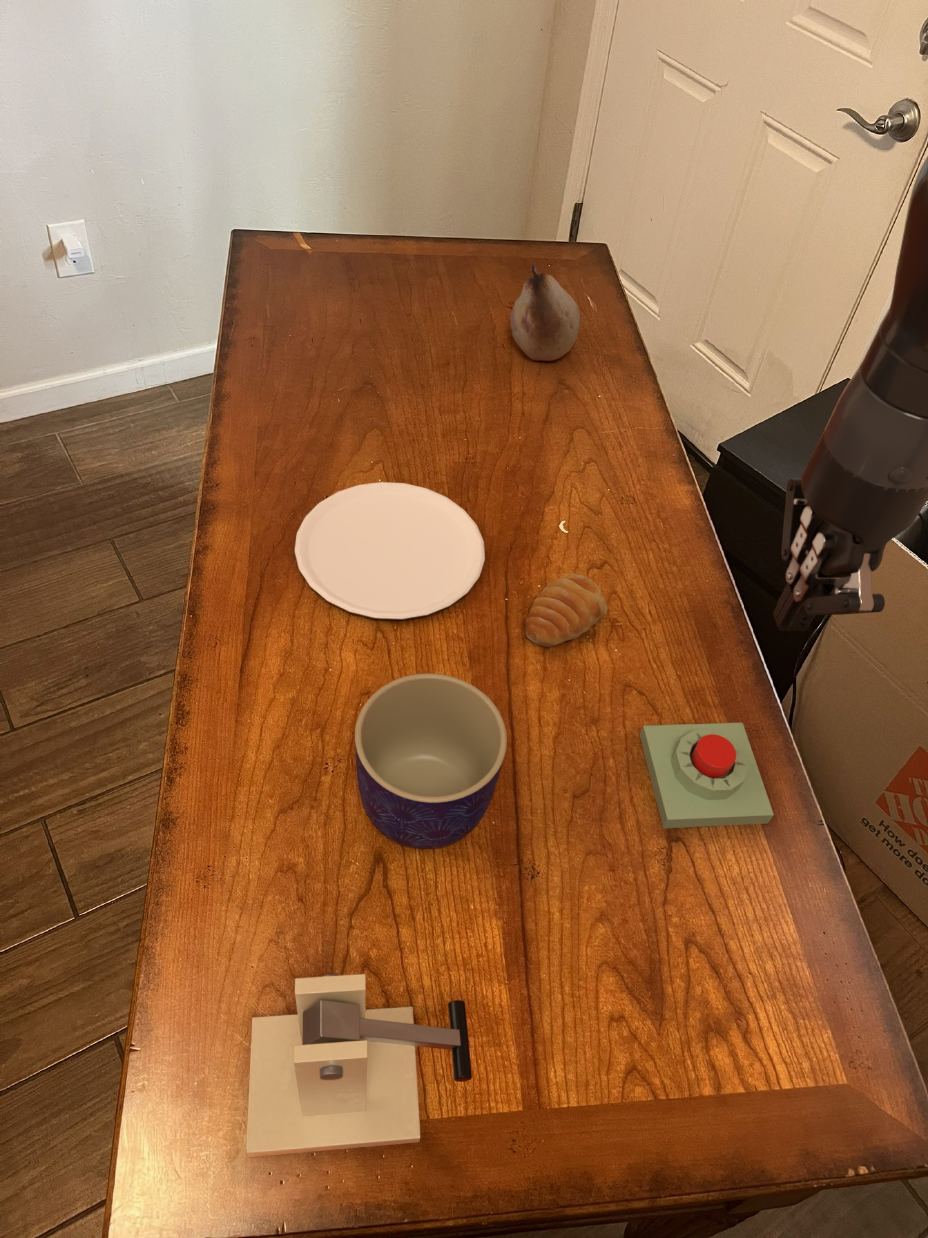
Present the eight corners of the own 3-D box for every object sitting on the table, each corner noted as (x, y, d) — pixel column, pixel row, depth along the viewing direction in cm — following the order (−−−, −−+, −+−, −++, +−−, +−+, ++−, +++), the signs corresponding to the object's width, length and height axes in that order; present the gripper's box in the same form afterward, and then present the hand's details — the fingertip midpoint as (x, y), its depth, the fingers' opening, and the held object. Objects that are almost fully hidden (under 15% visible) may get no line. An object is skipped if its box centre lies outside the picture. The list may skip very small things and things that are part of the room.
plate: (254, 559, 101) (253, 551, 100) (377, 464, 113) (377, 456, 112) (406, 658, 95) (406, 650, 94) (520, 545, 106) (521, 538, 105)
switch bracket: (412, 1012, 73) (422, 939, 61) (419, 1142, 67) (433, 1088, 56) (253, 1023, 71) (235, 950, 60) (247, 1157, 65) (225, 1105, 54)
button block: (767, 824, 86) (781, 805, 84) (662, 828, 85) (672, 809, 82) (737, 731, 93) (748, 711, 90) (639, 735, 91) (647, 714, 89)
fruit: (503, 328, 134) (514, 249, 125) (567, 329, 135) (583, 251, 126) (512, 371, 128) (524, 291, 119) (580, 372, 129) (597, 293, 120)
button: (735, 777, 85) (741, 767, 84) (697, 778, 85) (702, 768, 84) (724, 743, 88) (730, 733, 86) (687, 744, 87) (692, 734, 86)
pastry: (558, 664, 96) (565, 641, 93) (507, 629, 98) (511, 605, 95) (609, 614, 101) (616, 590, 98) (558, 581, 103) (564, 557, 101)
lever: (453, 1009, 67) (473, 998, 65) (459, 1085, 64) (480, 1075, 62) (302, 989, 61) (320, 976, 59) (301, 1072, 58) (320, 1061, 56)
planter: (404, 891, 79) (410, 830, 71) (328, 782, 85) (325, 714, 77) (519, 818, 84) (538, 753, 76) (440, 720, 90) (449, 650, 82)
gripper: (990, 519, 54) (865, 693, 68) (901, 380, 63) (805, 559, 76) (869, 519, 53) (766, 696, 67) (795, 378, 62) (717, 560, 75)
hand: (787, 623), depth 71 cm, fingers closed
